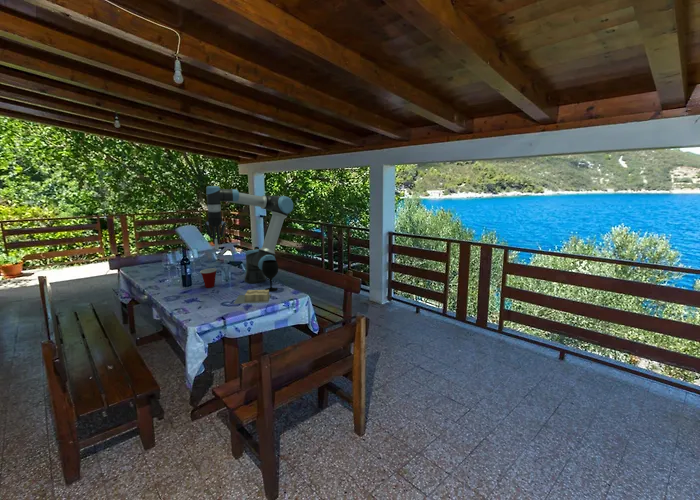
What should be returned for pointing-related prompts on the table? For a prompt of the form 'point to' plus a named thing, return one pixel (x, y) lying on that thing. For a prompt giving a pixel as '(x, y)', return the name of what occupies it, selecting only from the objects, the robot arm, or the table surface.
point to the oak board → (256, 295)
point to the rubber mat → (241, 299)
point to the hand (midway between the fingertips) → (216, 249)
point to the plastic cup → (209, 277)
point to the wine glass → (270, 272)
